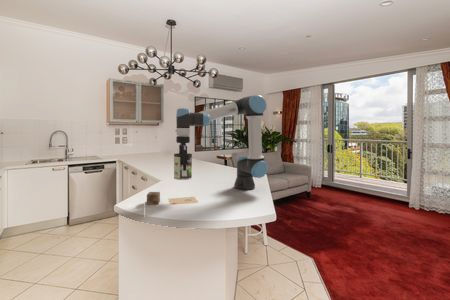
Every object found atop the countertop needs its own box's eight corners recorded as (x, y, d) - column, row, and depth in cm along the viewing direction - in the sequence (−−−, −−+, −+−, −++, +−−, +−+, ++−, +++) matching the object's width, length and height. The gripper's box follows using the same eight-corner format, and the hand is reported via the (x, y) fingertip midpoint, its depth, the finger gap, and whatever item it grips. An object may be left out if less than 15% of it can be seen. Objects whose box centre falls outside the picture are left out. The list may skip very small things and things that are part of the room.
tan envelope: (194, 197, 146) (194, 196, 146) (198, 203, 135) (198, 202, 135) (168, 199, 141) (168, 198, 141) (169, 205, 130) (169, 204, 130)
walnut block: (160, 202, 136) (159, 191, 135) (158, 205, 130) (157, 194, 129) (149, 202, 135) (149, 191, 135) (146, 205, 129) (146, 194, 129)
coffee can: (194, 176, 141) (194, 153, 139) (188, 180, 131) (188, 155, 129) (178, 175, 143) (178, 152, 141) (170, 179, 133) (170, 154, 131)
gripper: (174, 135, 144) (174, 171, 146) (179, 136, 123) (178, 178, 125) (186, 135, 146) (186, 170, 148) (193, 136, 125) (192, 178, 127)
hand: (182, 174), depth 136 cm, fingers closed on coffee can, 10 cm apart
